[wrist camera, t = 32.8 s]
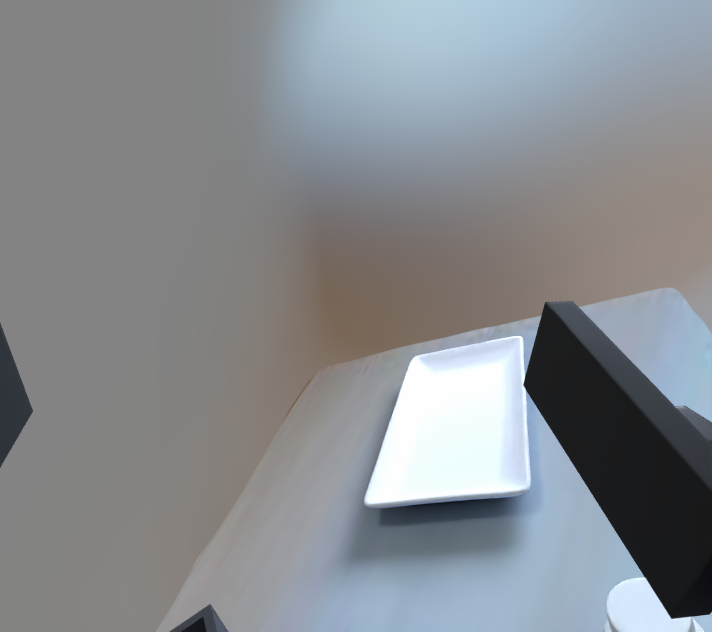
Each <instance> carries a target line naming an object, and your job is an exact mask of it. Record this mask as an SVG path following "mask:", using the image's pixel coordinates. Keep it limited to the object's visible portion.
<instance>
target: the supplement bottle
mask: <svg viewBox="0 0 712 632" xmlns="http://www.w3.org/2000/svg"><path fill="white" fill-rule="evenodd" d="M606 612H607V617H608V620H607V622H606V624H605V627H604V632H704V631H703V629H702V628H701V627H700V625H699V624H698V623H697V622H696V621H695V620H694V619H692V617H684V618H676V619H671V618H670V616H669V614H668V613H667V611H666V610H665V608H664V607H663V605H662V603H661V602H660V600H659V599H658V597H657V596H656V594H655V592H654V591H653V589H652V588H651V586H650V585H649V583H648V581H647V580H646V578H633V579H628V580H625V581H623V582H621V583H619V584H617V585H616V586H615V587H614V588H613V589H612V590H611V592H610V593H609V595H608V598H607V601H606Z"/></svg>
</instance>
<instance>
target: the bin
mask: <svg viewBox="0 0 712 632" xmlns="http://www.w3.org/2000/svg"><path fill="white" fill-rule="evenodd" d="M170 632H228V631H227V629H226V627H225V626H224V624H223V623H222V621H221V620H220V618H219V616H218V615H217V613H216V612H215V610H214V609H213V607H212V606H211V604H210V605H208V606H207V607H205V608H204V609H202V610H201V611H199V612H198V613H196V614H195V615H193V616H192V617H191V618H189V619H188V620H186V621H185V622H183V623H182V624H180V625H179V626H177V627H176V628H174V629H173V630H171V631H170Z"/></svg>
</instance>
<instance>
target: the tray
mask: <svg viewBox="0 0 712 632" xmlns="http://www.w3.org/2000/svg"><path fill="white" fill-rule="evenodd" d="M524 380H525V373H524V352H523V338H522V337H520V336H514V337H508V338H503V339H498V340H493V341H488V342H483V343H478V344H473V345H468V346H463V347H458V348H453V349H448V350H443V351H439V352H434V353H429V354H424V355H419V356H416V357H414V358H413V359H412V361H411V362H410V364H409V367H408V370H407V373H406V375H405V378H404V381H403V384H402V387H401V390H400V393H399V396H398V398H397V401H396V404H395V407H394V410H393V413H392V416H391V419H390V422H389V425H388V428H387V432H386V435H385V438H384V440H383V443H382V447H381V450H380V453H379V456H378V459H377V462H376V465H375V468H374V471H373V474H372V476H371V479H370V482H369V485H368V488H367V491H366V494H365V497H364V505H365V506H366V507H368V508H390V507H400V506H409V505H418V504H428V503H439V502H450V501H461V500H474V499H488V498H503V497H513V496H519V495H523V494H525V493H527V492H528V491H529V489H530V486H531V474H530V458H529V441H528V423H527V404H526V389H525V388H524V386H523V383H524Z"/></svg>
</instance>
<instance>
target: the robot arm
mask: <svg viewBox="0 0 712 632" xmlns="http://www.w3.org/2000/svg"><path fill="white" fill-rule="evenodd" d="M523 386H524V388H525V389H526V391H527V392H528V394H529V395H530V397H531V399H532V400H533V402H534V403H535V405H536V406H537V408H538V410H539V411H540V413H541V414H542V416H543V417H544V419H545V421H546V422H547V424H548V425H549V427H550V429H551V430H552V432H553V433H554V435H555V436H556V438H557V440H558V441H559V443H560V444H561V446H562V447H563V449H564V451H565V452H566V454H567V455H568V457H569V458H570V460H571V462H572V463H573V465H574V466H575V468H576V469H577V471H578V473H579V474H580V476H581V477H582V479H583V481H584V482H585V484H586V485H587V487H588V488H589V490H590V492H591V493H592V495H593V496H594V498H595V499H596V501H597V503H598V504H599V506H600V507H601V509H602V510H603V512H604V514H605V515H606V517H607V518H608V520H609V521H610V523H611V525H612V526H613V528H614V529H615V531H616V533H617V534H618V536H619V537H620V539H621V540H622V542H623V544H624V545H625V547H626V548H627V550H628V551H629V553H630V555H631V556H632V558H633V559H634V561H635V562H636V564H637V566H638V567H639V569H640V570H641V572H642V573H643V575H644V577H645V578H646V580H647V581H648V583H649V585H650V586H651V588H652V589H653V591H654V592H655V594H656V596H657V597H658V599H659V600H660V602H661V603H662V605H663V607H664V608H665V610H666V611H667V613H668V614H669V616H670V618H671V619H676V618H684V617H692V616H701V615H709V614H710V613H711V612H712V423H711V422H710V421H709V420H707V419H705V418H704V417H702V416H701V415H699V414H697V413H696V412H694V411H693V410H691V409H689V408H688V407H686V406H674V405H673V404H672V403H671V402H670V401H669V400H668V399H667V398H666V397H665V396H664V395H663V394H662V393H661V392H660V391H659V390H658V389H657V387H656V386H655V385H654V384H653V383H652V382H651V381H650V380H649V379H648V378H647V377H646V376H645V375H644V374H643V373H642V372H641V371H640V370H639V369H638V368H637V367H636V366H635V365H634V364H633V363H632V362H631V361H630V360H629V359H628V358H627V357H626V356H625V355H624V353H623V352H622V351H621V350H620V349H619V348H618V347H617V346H616V345H615V344H614V343H613V342H612V341H611V340H610V339H609V338H608V337H607V336H606V335H605V334H604V333H603V332H602V331H601V330H600V329H599V328H598V327H597V326H596V325H595V324H594V323H593V322H592V321H591V319H590V318H589V317H588V316H587V315H586V314H585V313H584V312H583V311H582V310H581V309H580V308H579V307H578V306H577V305H576V304H575V303H574V302H573V301H566V302H545V305H544V309H543V313H542V316H541V320H540V324H539V327H538V331H537V335H536V339H535V342H534V346H533V350H532V354H531V357H530V361H529V365H528V368H527V372H526V376H525V380H524V383H523ZM32 412H33V410H32V407H31V405H30V402H29V399H28V397H27V394H26V392H25V389H24V386H23V383H22V380H21V378H20V375H19V372H18V370H17V367H16V364H15V362H14V359H13V356H12V354H11V351H10V348H9V345H8V343H7V340H6V337H5V335H4V332H3V329H2V327H1V324H0V467H1V465H2V463H3V462H4V460H5V458H6V457H7V455H8V453H9V451H10V450H11V448H12V446H13V445H14V443H15V441H16V439H17V438H18V436H19V434H20V433H21V431H22V429H23V427H24V426H25V424H26V422H27V420H28V419H29V417H30V415H31V414H32Z"/></svg>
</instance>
